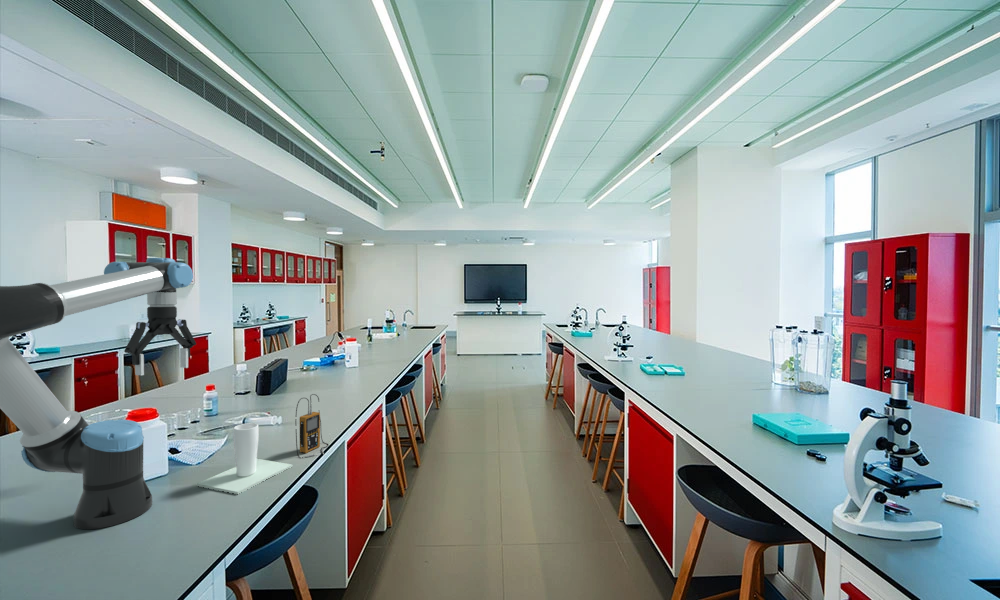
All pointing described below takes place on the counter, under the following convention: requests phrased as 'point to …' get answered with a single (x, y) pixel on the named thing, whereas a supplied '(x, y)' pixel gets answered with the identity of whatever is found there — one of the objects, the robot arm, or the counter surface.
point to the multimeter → (309, 431)
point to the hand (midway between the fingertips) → (163, 371)
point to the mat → (237, 484)
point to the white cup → (246, 448)
